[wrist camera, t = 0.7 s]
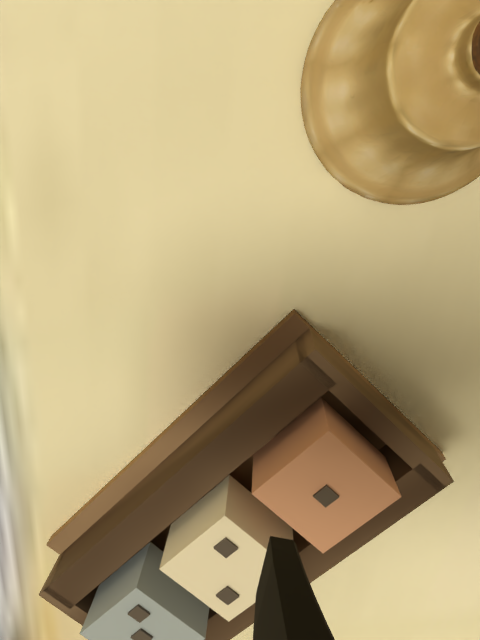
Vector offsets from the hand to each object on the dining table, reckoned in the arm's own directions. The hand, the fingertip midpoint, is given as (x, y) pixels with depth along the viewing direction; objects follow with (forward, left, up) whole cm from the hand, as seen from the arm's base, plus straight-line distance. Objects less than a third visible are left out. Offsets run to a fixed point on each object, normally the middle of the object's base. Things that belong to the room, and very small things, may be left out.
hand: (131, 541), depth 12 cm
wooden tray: (-6, +3, -10) cm, 12 cm away
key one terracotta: (-6, -2, -8) cm, 10 cm away
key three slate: (-6, +9, -8) cm, 13 cm away
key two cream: (-6, +3, -8) cm, 10 cm away
